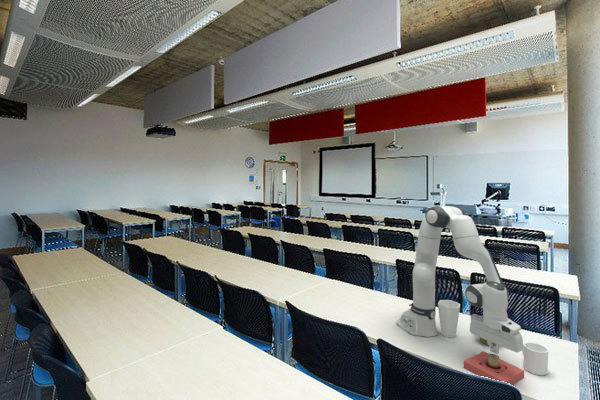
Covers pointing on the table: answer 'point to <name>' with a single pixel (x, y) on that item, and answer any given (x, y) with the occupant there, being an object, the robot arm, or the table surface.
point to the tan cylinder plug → (493, 361)
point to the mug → (535, 358)
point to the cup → (448, 317)
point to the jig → (504, 373)
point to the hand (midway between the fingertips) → (494, 352)
